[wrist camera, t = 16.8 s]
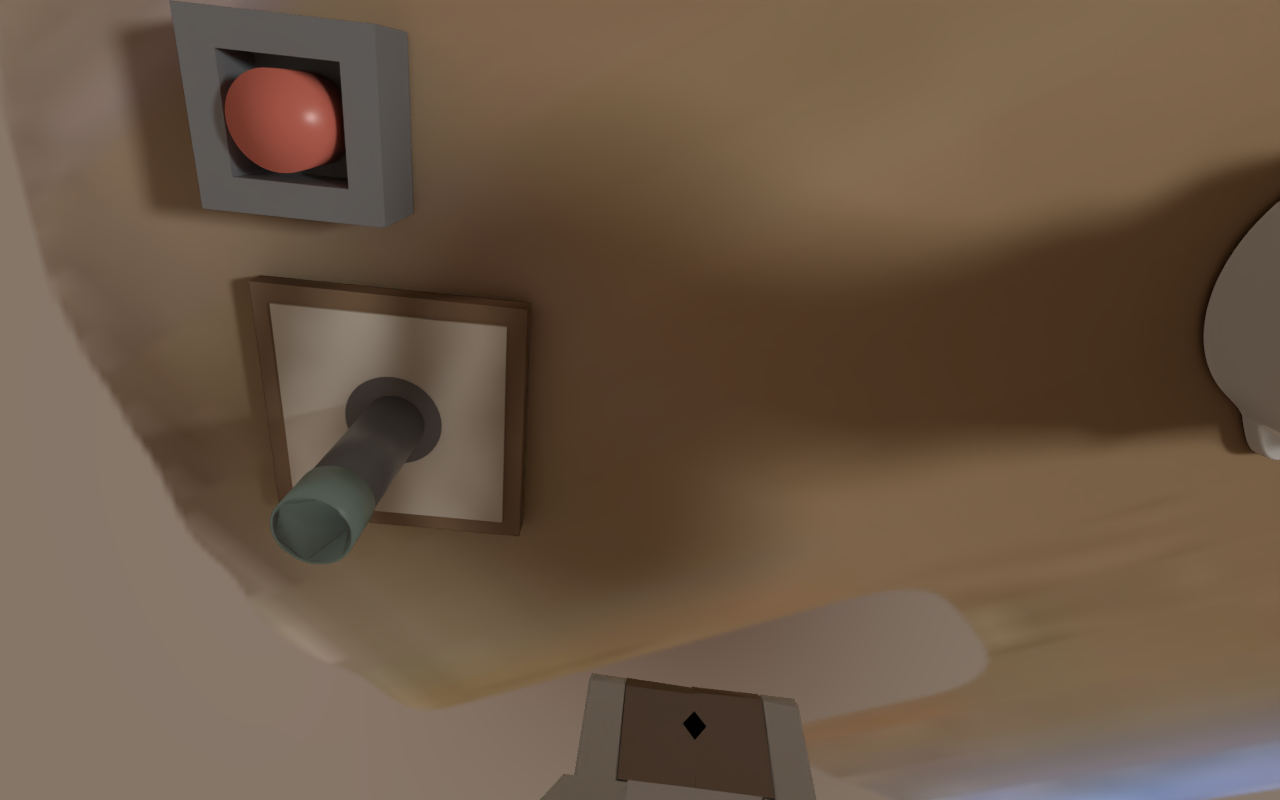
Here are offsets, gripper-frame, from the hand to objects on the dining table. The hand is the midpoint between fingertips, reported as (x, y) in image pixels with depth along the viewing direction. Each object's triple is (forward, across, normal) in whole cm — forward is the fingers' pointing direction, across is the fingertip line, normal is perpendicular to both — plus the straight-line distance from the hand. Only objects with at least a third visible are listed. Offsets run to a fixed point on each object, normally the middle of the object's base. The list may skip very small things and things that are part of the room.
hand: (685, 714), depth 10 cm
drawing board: (+27, +15, +10) cm, 32 cm away
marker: (+25, +14, +10) cm, 31 cm away
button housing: (+27, +18, -5) cm, 32 cm away
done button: (+25, +18, -5) cm, 31 cm away
